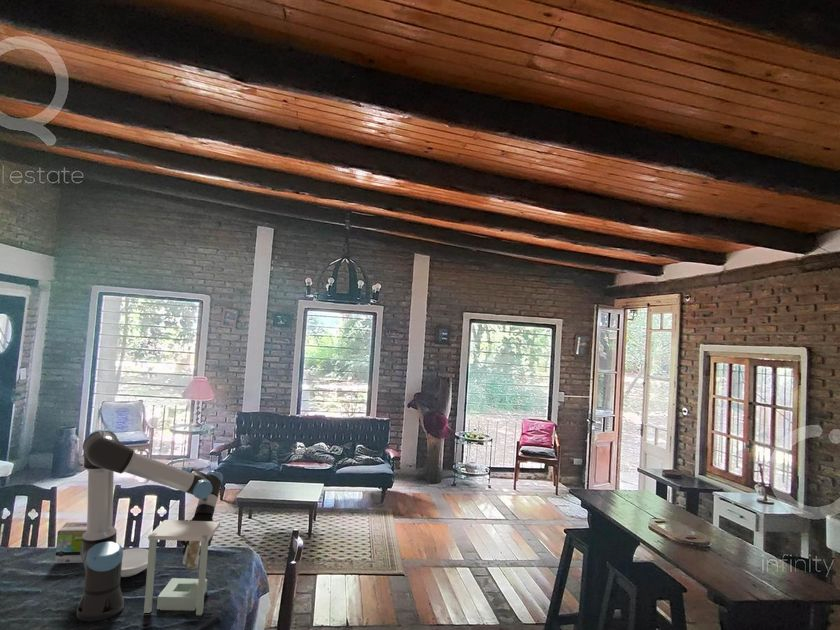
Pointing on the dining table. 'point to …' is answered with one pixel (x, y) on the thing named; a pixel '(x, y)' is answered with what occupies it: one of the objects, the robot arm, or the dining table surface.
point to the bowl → (134, 561)
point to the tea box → (70, 542)
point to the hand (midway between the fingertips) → (190, 563)
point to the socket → (180, 589)
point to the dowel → (192, 554)
